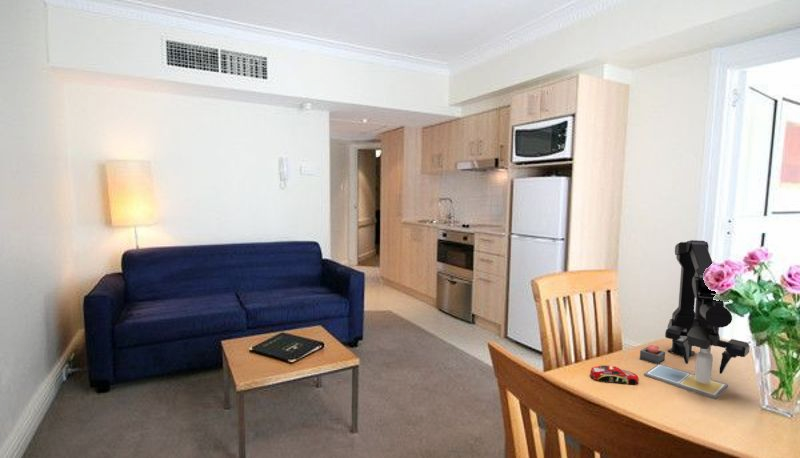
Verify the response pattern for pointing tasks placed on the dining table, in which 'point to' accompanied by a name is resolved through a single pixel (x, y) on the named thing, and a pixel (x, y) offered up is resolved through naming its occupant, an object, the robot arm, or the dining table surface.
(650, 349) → the button
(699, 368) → the eye dropper bottle
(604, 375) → the race car
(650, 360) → the button housing
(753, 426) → the dining table surface
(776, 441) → the dining table surface
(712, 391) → the grey flat rectangular board
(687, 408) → the dining table surface
